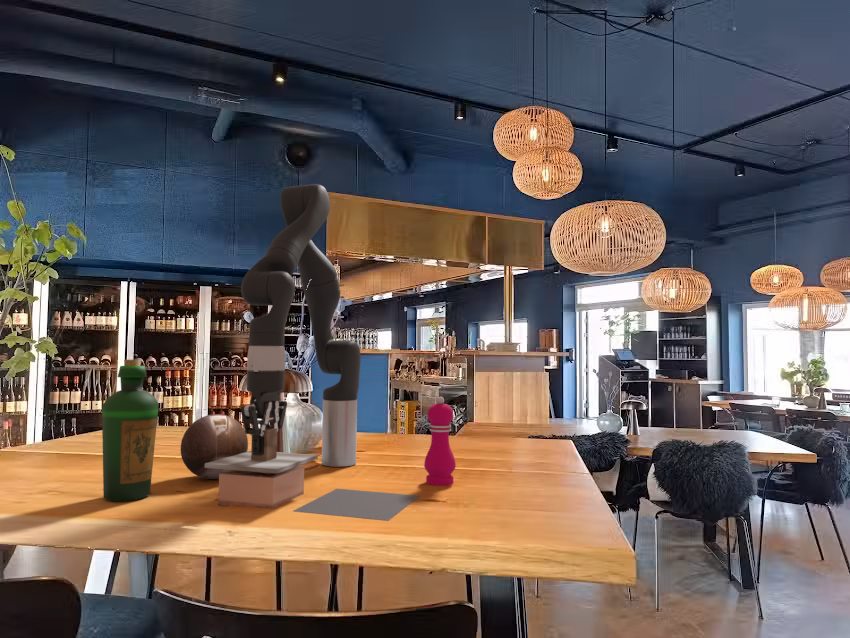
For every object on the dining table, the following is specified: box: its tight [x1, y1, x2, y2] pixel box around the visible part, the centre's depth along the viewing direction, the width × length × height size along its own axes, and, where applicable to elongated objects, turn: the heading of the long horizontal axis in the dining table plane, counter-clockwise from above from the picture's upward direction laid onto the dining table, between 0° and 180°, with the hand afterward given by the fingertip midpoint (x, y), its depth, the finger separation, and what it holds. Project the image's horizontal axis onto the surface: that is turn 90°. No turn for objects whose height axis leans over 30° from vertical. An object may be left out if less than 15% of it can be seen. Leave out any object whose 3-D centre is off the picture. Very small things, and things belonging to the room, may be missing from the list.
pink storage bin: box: [217, 465, 305, 509], centre depth 117 cm, size 12×12×6 cm
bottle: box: [101, 359, 160, 503], centre depth 118 cm, size 11×11×28 cm
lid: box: [205, 427, 319, 474], centre depth 117 cm, size 16×16×7 cm
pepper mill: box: [423, 396, 456, 487], centre depth 133 cm, size 7×7×20 cm
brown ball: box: [180, 413, 249, 480], centre depth 137 cm, size 15×15×15 cm
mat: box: [293, 488, 421, 522], centre depth 113 cm, size 19×19×1 cm
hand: (263, 452), depth 117 cm, fingers closed on lid, 3 cm apart
